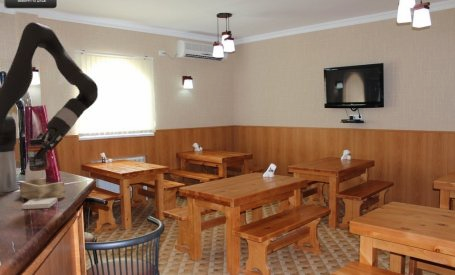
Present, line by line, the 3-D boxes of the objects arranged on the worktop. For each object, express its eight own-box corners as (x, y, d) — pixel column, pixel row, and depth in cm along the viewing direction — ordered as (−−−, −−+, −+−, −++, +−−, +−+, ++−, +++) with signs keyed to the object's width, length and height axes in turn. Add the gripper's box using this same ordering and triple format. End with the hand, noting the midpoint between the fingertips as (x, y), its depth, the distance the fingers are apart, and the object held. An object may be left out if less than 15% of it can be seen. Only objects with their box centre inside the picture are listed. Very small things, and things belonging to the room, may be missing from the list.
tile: (22, 209, 132) (22, 204, 132) (32, 202, 141) (32, 198, 141) (49, 207, 134) (48, 203, 133) (57, 201, 142) (57, 197, 142)
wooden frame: (39, 202, 142) (38, 186, 141) (20, 196, 152) (19, 182, 151) (65, 196, 150) (64, 181, 149) (45, 191, 160) (44, 177, 159)
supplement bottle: (43, 168, 141) (41, 137, 140) (50, 169, 137) (48, 138, 136) (26, 170, 136) (24, 139, 135) (33, 171, 132) (31, 139, 131)
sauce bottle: (31, 193, 157) (28, 150, 155) (23, 191, 162) (20, 149, 160) (50, 190, 163) (47, 148, 162) (41, 187, 168) (38, 147, 166)
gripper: (45, 115, 145) (15, 149, 137) (65, 115, 136) (34, 152, 128) (60, 128, 150) (31, 162, 141) (79, 129, 141) (50, 165, 133)
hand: (32, 157), depth 135 cm, fingers closed on supplement bottle, 6 cm apart
